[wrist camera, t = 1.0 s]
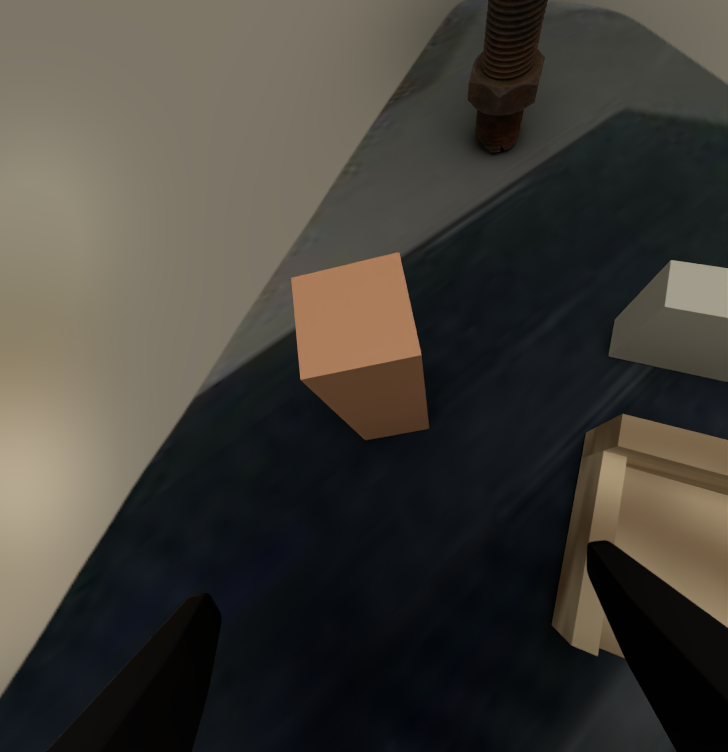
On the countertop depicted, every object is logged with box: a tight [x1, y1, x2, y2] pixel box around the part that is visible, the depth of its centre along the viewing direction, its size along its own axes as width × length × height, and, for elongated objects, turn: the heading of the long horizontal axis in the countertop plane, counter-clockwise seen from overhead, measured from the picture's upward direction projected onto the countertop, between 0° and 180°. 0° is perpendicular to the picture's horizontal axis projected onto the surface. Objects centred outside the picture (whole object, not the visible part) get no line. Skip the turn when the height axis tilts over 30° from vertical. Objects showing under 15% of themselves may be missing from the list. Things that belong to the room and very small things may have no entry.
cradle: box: [552, 414, 728, 658], centre depth 17 cm, size 10×9×4 cm
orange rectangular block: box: [291, 252, 429, 440], centre depth 18 cm, size 4×4×12 cm
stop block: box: [609, 260, 728, 382], centre depth 19 cm, size 2×8×6 cm, turn 71°
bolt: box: [468, 0, 548, 153], centre depth 22 cm, size 6×5×15 cm
